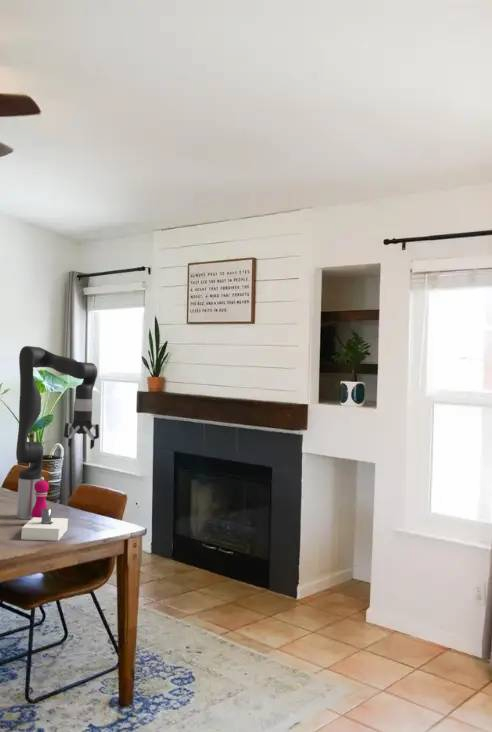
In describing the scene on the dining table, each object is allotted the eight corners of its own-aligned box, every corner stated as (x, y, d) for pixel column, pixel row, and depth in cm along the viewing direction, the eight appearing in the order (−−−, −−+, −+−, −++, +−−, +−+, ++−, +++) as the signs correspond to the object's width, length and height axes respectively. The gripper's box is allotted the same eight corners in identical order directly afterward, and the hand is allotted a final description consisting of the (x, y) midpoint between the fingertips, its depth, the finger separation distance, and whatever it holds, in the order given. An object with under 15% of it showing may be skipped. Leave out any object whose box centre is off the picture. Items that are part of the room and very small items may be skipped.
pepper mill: (30, 526, 298) (33, 478, 299) (30, 522, 305) (33, 475, 306) (48, 526, 300) (51, 478, 301) (48, 522, 307) (50, 475, 308)
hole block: (32, 528, 295) (33, 517, 295) (67, 529, 296) (68, 518, 296) (21, 539, 275) (21, 527, 275) (58, 540, 276) (58, 528, 276)
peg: (41, 533, 287) (43, 508, 287) (50, 533, 287) (52, 508, 287) (39, 535, 283) (41, 509, 283) (49, 535, 284) (50, 510, 284)
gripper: (101, 410, 306) (99, 448, 306) (67, 408, 305) (65, 446, 305) (98, 411, 299) (96, 449, 298) (64, 409, 298) (62, 448, 297)
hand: (81, 448), depth 301 cm, fingers open, 8 cm apart
